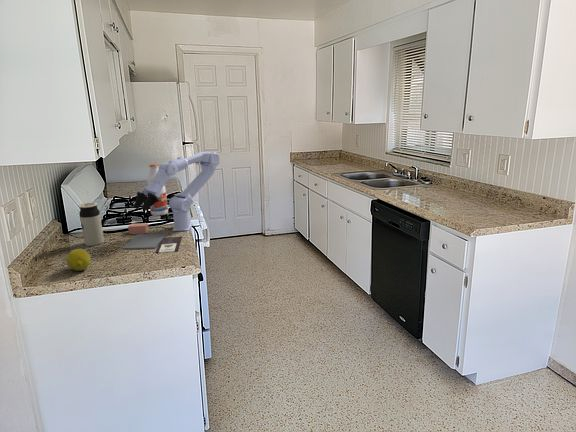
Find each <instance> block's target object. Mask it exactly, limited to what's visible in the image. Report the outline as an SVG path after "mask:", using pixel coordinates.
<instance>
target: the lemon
mask: <svg viewBox="0 0 576 432" xmlns="http://www.w3.org/2000/svg"><path fill="white" fill-rule="evenodd" d="M66 263H67V266H68V267H69V268H70V270H73V271H76V272H77V271H78V272H79V271H80V272H81V271H85V270H86V269H88V268H89V266H90V264H91V256H90V254H89V253H88V251H86V250H85V249H82V248H75V249H73V250H71V251H70V252H69V253H68V254H67V257H66Z"/></svg>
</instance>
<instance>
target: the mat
mask: <svg viewBox="0 0 576 432" xmlns="http://www.w3.org/2000/svg"><path fill="white" fill-rule="evenodd" d="M167 235H168V233H146V234H135V236H134V237H132V238H131V240H129V241H128V242H127V243H126V244H125V245H124V246H123V247H122V248H121V249H122V250H149V249H151V250H152V249H157V248H158V245H159V243H160V241H161V240H162V239H163V238H167Z"/></svg>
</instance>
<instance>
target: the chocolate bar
mask: <svg viewBox="0 0 576 432" xmlns="http://www.w3.org/2000/svg"><path fill="white" fill-rule="evenodd" d="M182 238H183V237H182V235H181V236H169V237H167V236H166V237H165V238H163V239H162V240H161V241H160V243H159V245H158V246H157V247H156V250H155V254H164V253H165V254H166V253H175V252H179V249H180V246H181V242H182Z"/></svg>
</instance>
